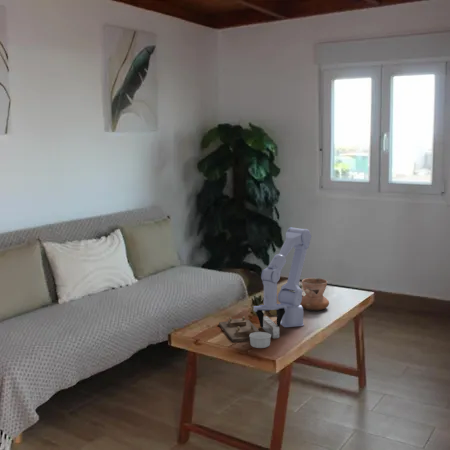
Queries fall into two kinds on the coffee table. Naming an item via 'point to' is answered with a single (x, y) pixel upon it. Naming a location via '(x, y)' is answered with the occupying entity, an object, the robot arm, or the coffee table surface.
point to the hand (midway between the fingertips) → (269, 326)
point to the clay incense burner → (314, 294)
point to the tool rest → (238, 329)
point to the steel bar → (270, 327)
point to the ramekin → (260, 339)
